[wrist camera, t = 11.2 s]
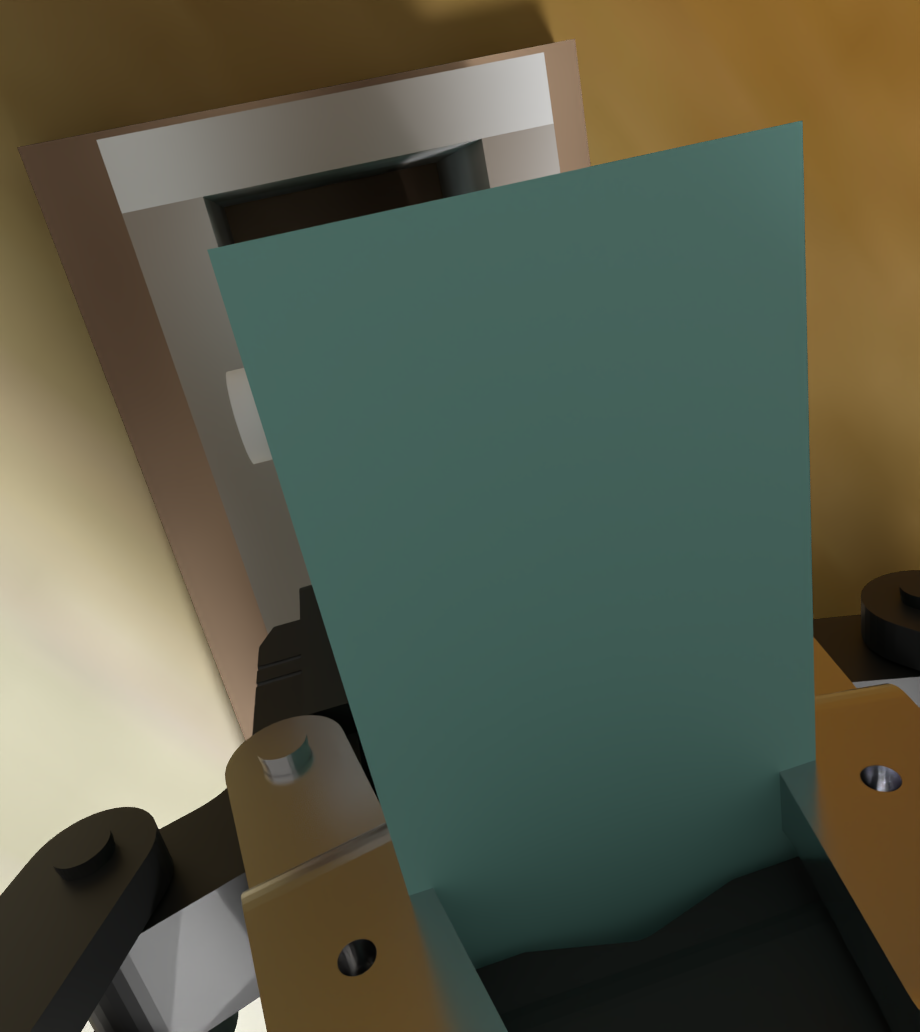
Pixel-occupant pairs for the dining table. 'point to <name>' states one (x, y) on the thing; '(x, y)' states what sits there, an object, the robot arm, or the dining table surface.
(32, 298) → the dining table surface
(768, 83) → the dining table surface
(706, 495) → the teal door
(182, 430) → the hinge frame
